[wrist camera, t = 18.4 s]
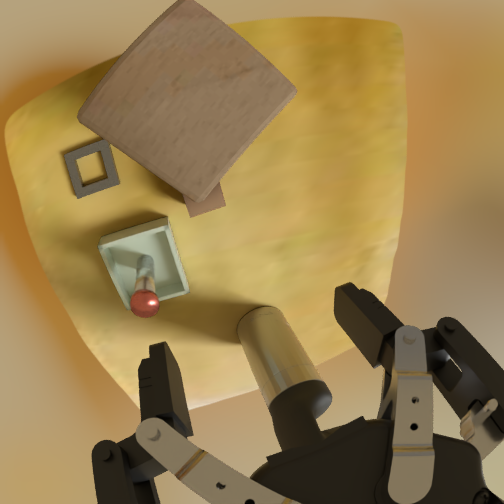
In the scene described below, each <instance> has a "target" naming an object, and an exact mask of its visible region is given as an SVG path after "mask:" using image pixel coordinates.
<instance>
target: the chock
mask: <svg viewBox="0 0 504 504" xmlns="http://www.w3.org/2000/svg"><path fill="white" fill-rule="evenodd" d="M183 197H184V200H185V203H186V206H187V209H188V212H189V215H190V218H191V217H194V216H197V215H200V214H203V213H206V212H209V211H212V210H215V209H218V208H221V207H224V206H226V204H225V200H224V197H223V193H222V190H221V186H220V182H218V183H217V185H216V186H215V187H214V188H213V189H212V191H211V192H210V193H209V194H208V196H207V197H206V198H205V199H204V200H203V201H201V202H200V203H198V202H193V201H192V200H190V199H189V198H188V197H186V196H185V195H183Z"/></svg>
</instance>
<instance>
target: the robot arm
mask: <svg viewBox="0 0 504 504" xmlns="http://www.w3.org/2000/svg"><path fill="white" fill-rule="evenodd" d="M334 315H335V318H336V320H337V322H338V323H339V325H340V326H341V327H342V329H343V330H344V331H345V332H346V334H347V335H348V336H349V337H350V339H351V340H352V341H353V342H354V344H355V345H356V346H357V348H358V349H359V350H360V351H361V353H362V354H363V355H364V356H365V358H366V359H367V360H368V362H369V363H370V364H371V366H372V367H373V368H376V367H378V366H380V365H382V366H383V367H384V370H383V382H382V393H381V403H380V408H379V412H378V416H377V419H372V420H365V419H364V417H363V416H361V417H359V418H357V419H355V420H353V421H351V422H350V423H348V424H345V425H342V426H339V427H335V428H332V429H328V430H324V431H320V429H319V427H318V424H317V422H316V419H317V418H318V417H319V416H320V415H322V414H323V413H324V412H325V411H326V410H327V409H328V407H329V406H330V404H331V402H332V394H331V392H330V390H329V389H328V387H327V385H326V384H325V382H324V381H323V379H322V378H321V376H320V374H319V373H318V371H317V369H316V368H315V366H314V365H313V363H312V361H311V360H310V358H309V356H308V355H307V353H306V352H305V350H304V348H303V347H302V345H301V343H300V342H299V340H298V338H297V337H296V335H295V333H294V332H293V330H292V329H291V327H290V325H289V323H288V322H287V320H286V319H285V317H284V315H283V314H282V312H281V311H280V310H278V309H277V308H274V307H261V308H257V309H255V310H252V311H251V312H249V313H247V314H246V315H245V316H244V317H243V318H242V319H241V320H240V322H239V324H238V327H237V334H238V337H239V339H240V342H241V344H242V347H243V349H244V352H245V355H246V357H247V359H248V362H249V364H250V367H251V369H252V372H253V374H254V376H255V379H256V381H257V384H258V386H259V388H260V391H261V393H262V395H263V397H264V400H265V402H266V405H267V407H268V409H269V412H270V414H271V416H272V420H273V425H274V430H275V434H276V436H277V439H278V442H279V444H280V447H281V449H282V452H279V453H276V454H273V455H270V456H268V457H266V458H267V460H268V462H266V463H265V464H263V465H262V466H261V467H259V468H258V469H257V470H256V471H255V472H254V473H253V474H252V475H251V477H250V478H248V477H246V476H244V475H243V474H241V473H239V472H238V471H236V470H234V469H233V468H231V467H229V466H228V465H226V464H225V463H223V462H222V461H220V460H218V459H217V458H215V457H214V456H212V455H211V454H209V453H208V452H206V451H204V450H201V449H200V448H198V447H197V446H196V445H194V444H193V443H191V442H190V441H188V439H187V437H188V436H193V431H192V426H191V422H190V417H189V412H188V408H187V403H186V398H185V393H184V387H183V382H182V377H181V372H180V369H179V366H178V363H177V361H176V359H175V358H174V356H173V354H172V352H171V350H170V348H169V346H168V344H167V343H166V342H161V343H157V344H153V345H150V346H149V354H150V358H146V359H142V361H141V364H140V366H139V369H138V378H139V396H140V410H141V423H140V424H139V426H138V427H137V430H136V432H135V433H134V434H133V435H132V436H130V437H128V438H126V439H124V440H122V441H120V442H118V443H115V442H113V441H111V440H103V441H100V442H99V443H97V444H96V445H95V446H94V448H93V450H92V465H93V474H94V482H95V489H96V496H97V502H98V504H160V500H159V497H158V494H157V489H156V486H155V482H154V477H156V476H158V475H160V474H162V473H164V472H166V471H168V470H169V471H170V472H171V473H172V474H174V475H175V476H176V477H177V479H178V480H180V481H181V482H182V483H183V484H185V485H186V486H187V487H188V488H190V489H191V490H192V491H194V492H195V493H197V494H198V495H200V496H201V497H202V498H204V499H205V500H206V501H208V502H209V503H211V504H504V501H503V500H502V499H500V498H499V497H498V496H496V495H495V494H493V493H492V492H491V491H490V490H489V489H488V488H487V486H486V483H485V480H484V476H483V471H482V460H483V459H484V458H485V457H486V456H487V455H488V454H489V453H490V452H492V451H493V450H494V449H495V448H496V446H498V444H500V443H501V442H502V441H503V440H504V370H503V369H502V368H501V367H500V366H499V364H498V363H497V362H496V361H495V360H494V359H493V358H492V357H491V355H490V354H489V353H488V352H487V351H486V350H485V349H484V348H483V346H482V345H481V344H480V343H479V342H478V341H477V340H476V339H475V338H474V337H473V336H472V335H471V334H470V333H469V332H468V331H467V330H466V328H465V327H464V326H463V325H462V324H461V323H460V322H459V321H458V320H456V319H454V318H451V317H444V318H441V319H440V320H439V321H438V323H437V325H436V327H434V328H430V329H425V330H420V329H418V328H417V327H415V326H410V325H406V326H405V325H404V324H403V323H402V322H400V320H399V319H398V318H397V317H396V316H395V315H394V314H393V313H392V312H391V311H390V310H389V309H388V308H387V307H386V306H384V304H383V303H382V302H381V301H379V299H378V298H377V297H376V296H375V295H374V294H373V293H371V292H369V291H367V290H365V289H363V288H362V289H360V290H359V289H358V288H357V287H356V286H355V285H354V284H353V283H351V282H349V283H346V284H343V285H341V286H338V287H336V288H335V298H334ZM450 357H451V358H452V359H453V360H454V362H455V363H456V364H457V365H458V366H459V368H460V369H461V371H462V372H461V371H460V370H459V369H458V367H457V366H456V365H455V364H454V362H453V361H452V360H451V359H450ZM433 383H434V384H435V385H436V387H437V388H438V389H439V391H440V392H441V393H442V395H443V396H444V398H445V399H446V400H447V402H448V403H449V404H450V406H451V407H452V408H453V410H454V411H455V413H456V414H457V415H458V417H459V418H460V420H461V423H460V429H461V430H460V435H461V437H463V438H464V440H459V439H455V438H451V437H447V436H443V435H439V434H435V433H433Z"/></svg>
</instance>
